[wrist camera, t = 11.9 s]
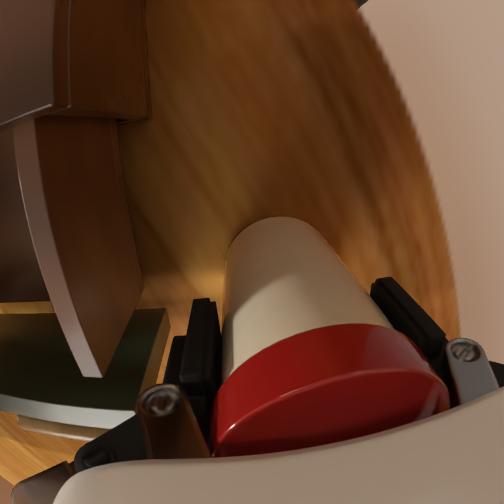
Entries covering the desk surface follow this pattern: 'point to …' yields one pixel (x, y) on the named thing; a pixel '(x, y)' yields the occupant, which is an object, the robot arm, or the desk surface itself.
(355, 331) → the jar
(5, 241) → the drawer
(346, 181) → the desk surface
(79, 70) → the cabinet
